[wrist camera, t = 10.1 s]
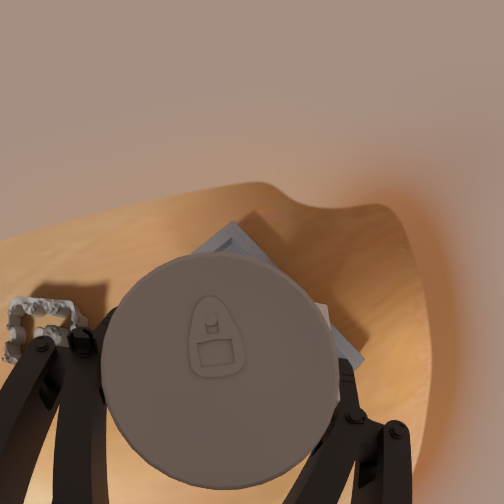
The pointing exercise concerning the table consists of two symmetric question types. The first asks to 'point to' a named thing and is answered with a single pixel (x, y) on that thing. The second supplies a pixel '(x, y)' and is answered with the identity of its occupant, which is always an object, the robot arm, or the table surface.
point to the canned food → (220, 371)
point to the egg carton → (38, 309)
